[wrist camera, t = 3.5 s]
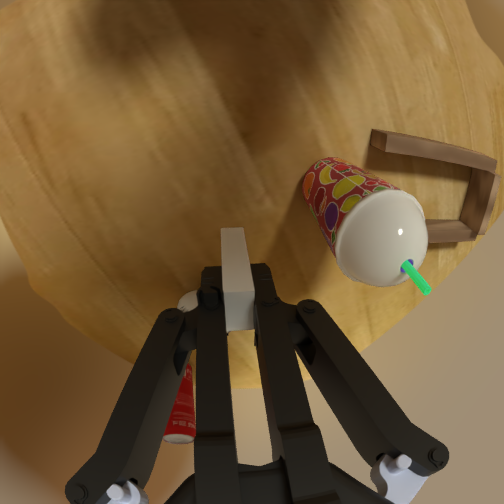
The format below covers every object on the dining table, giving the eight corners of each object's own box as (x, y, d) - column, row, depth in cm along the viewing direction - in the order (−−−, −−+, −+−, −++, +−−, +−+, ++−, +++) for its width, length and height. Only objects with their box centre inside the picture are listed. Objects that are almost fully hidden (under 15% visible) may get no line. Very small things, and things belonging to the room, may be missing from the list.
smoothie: (368, 190, 33) (474, 290, 16) (314, 226, 35) (388, 353, 18) (338, 134, 29) (467, 205, 12) (278, 174, 31) (351, 291, 14)
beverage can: (157, 357, 45) (149, 433, 33) (192, 356, 46) (191, 434, 33) (166, 375, 49) (161, 445, 36) (198, 374, 49) (199, 445, 36)
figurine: (171, 297, 38) (166, 332, 33) (193, 268, 36) (189, 303, 30) (218, 319, 41) (220, 354, 36) (242, 294, 39) (247, 329, 34)
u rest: (372, 128, 28) (394, 136, 24) (482, 153, 31) (503, 164, 26) (356, 232, 36) (372, 253, 32) (462, 230, 38) (480, 245, 34)
